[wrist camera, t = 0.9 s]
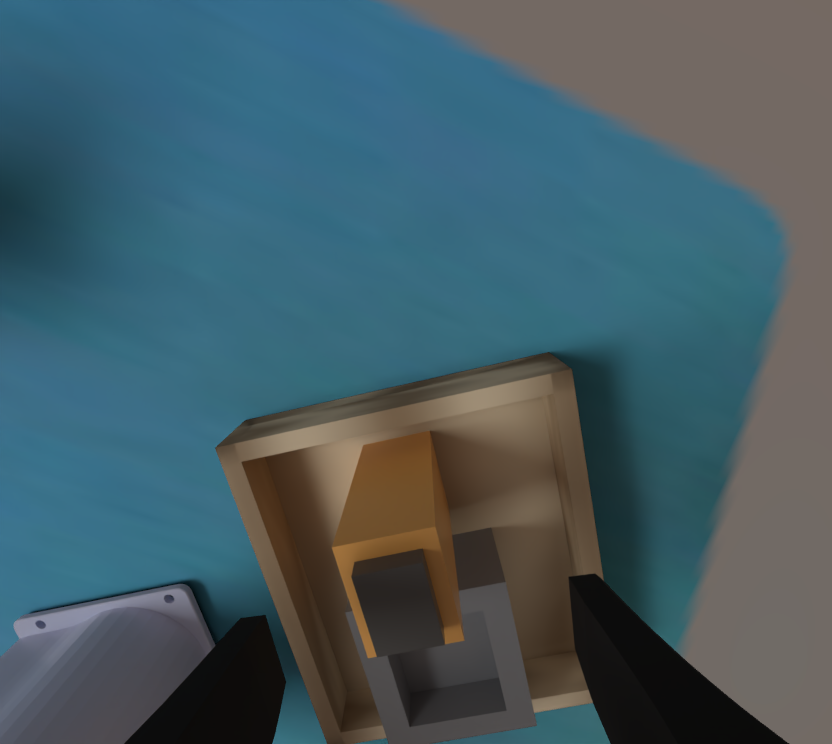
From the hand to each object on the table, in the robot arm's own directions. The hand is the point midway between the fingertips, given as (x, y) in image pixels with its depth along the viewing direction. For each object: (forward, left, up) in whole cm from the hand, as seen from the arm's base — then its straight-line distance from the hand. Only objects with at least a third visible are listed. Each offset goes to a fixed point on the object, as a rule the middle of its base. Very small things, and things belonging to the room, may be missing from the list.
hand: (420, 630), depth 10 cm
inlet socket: (-1, -8, -9) cm, 12 cm away
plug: (-1, -1, -9) cm, 9 cm away
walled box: (-1, -5, -10) cm, 11 cm away
